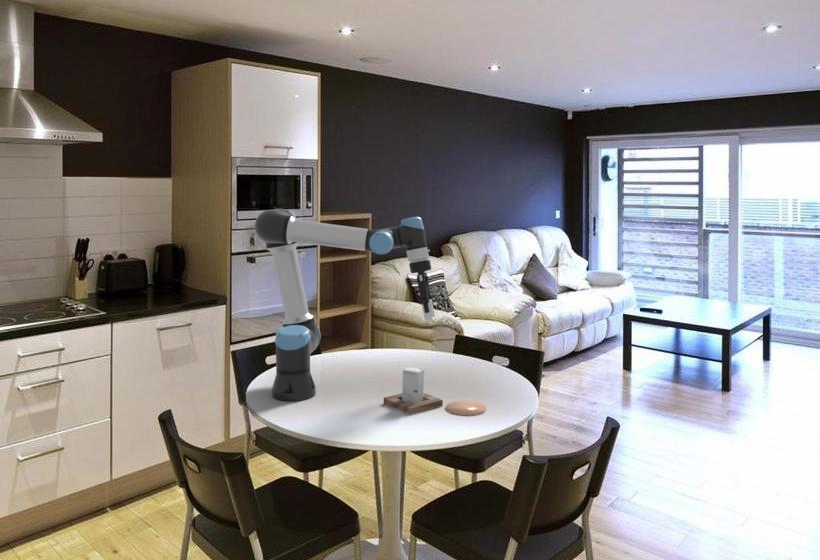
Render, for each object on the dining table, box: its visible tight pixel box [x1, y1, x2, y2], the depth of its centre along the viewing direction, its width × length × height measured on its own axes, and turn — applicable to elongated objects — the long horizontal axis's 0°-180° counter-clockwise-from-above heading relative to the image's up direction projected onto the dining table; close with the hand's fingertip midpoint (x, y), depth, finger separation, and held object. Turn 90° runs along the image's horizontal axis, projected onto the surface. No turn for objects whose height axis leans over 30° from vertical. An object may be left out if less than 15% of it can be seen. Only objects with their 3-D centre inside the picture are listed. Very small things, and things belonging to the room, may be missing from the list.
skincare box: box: [401, 366, 425, 404], centre depth 219 cm, size 6×4×12 cm
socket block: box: [383, 392, 444, 415], centre depth 220 cm, size 14×14×2 cm
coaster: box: [445, 400, 487, 416], centre depth 216 cm, size 13×13×1 cm
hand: (430, 319), depth 234 cm, fingers open, 13 cm apart
